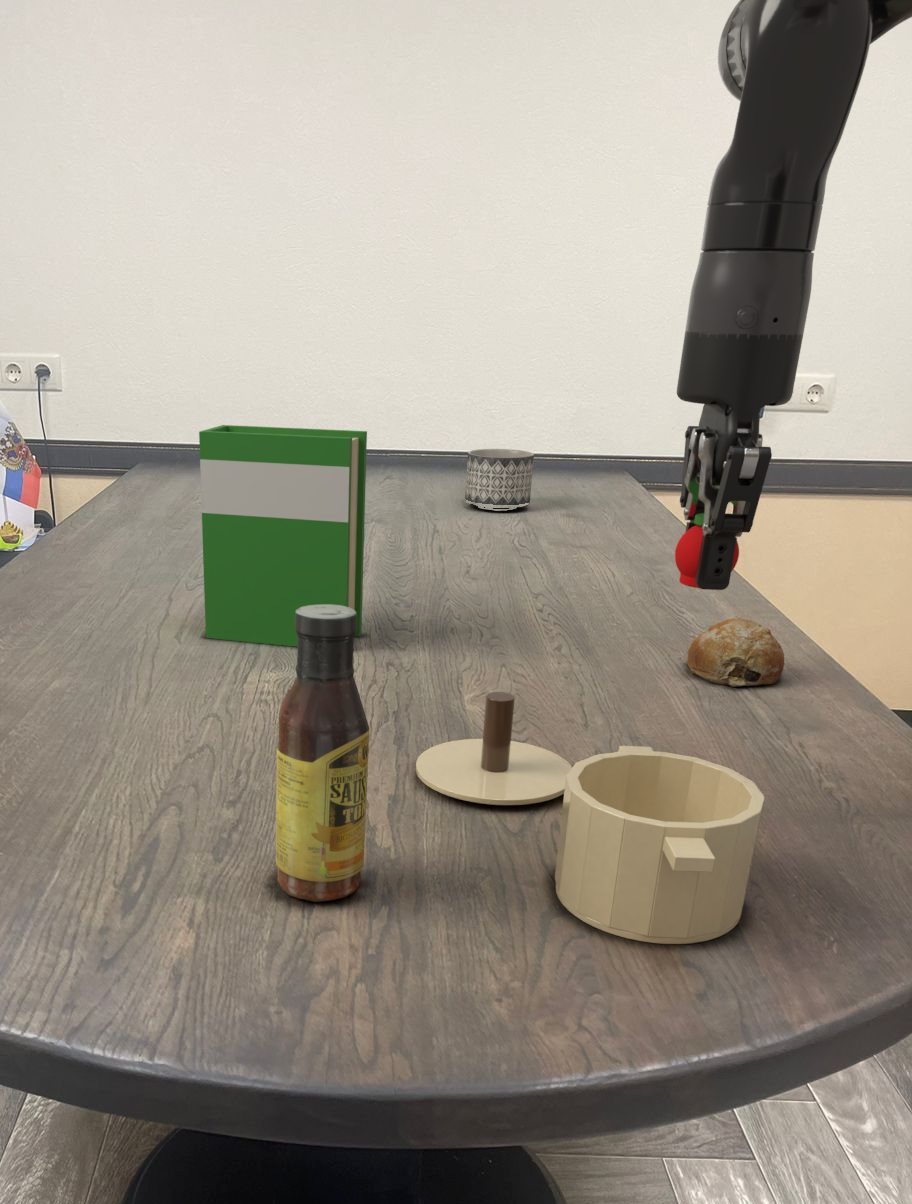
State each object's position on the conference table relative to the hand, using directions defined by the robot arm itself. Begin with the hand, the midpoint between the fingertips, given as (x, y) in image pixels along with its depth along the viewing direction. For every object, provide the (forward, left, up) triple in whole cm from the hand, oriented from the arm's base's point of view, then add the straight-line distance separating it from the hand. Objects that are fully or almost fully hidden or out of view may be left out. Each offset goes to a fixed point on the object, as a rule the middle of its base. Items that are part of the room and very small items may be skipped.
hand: (702, 579), depth 81 cm
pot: (+4, +13, -19) cm, 24 cm away
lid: (+13, -7, -19) cm, 24 cm away
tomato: (0, 0, 0) cm, 0 cm away
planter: (+1, -142, -20) cm, 143 cm away
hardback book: (+35, -49, -20) cm, 63 cm away
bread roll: (-16, -39, -20) cm, 46 cm away
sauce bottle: (+27, +13, -20) cm, 36 cm away
